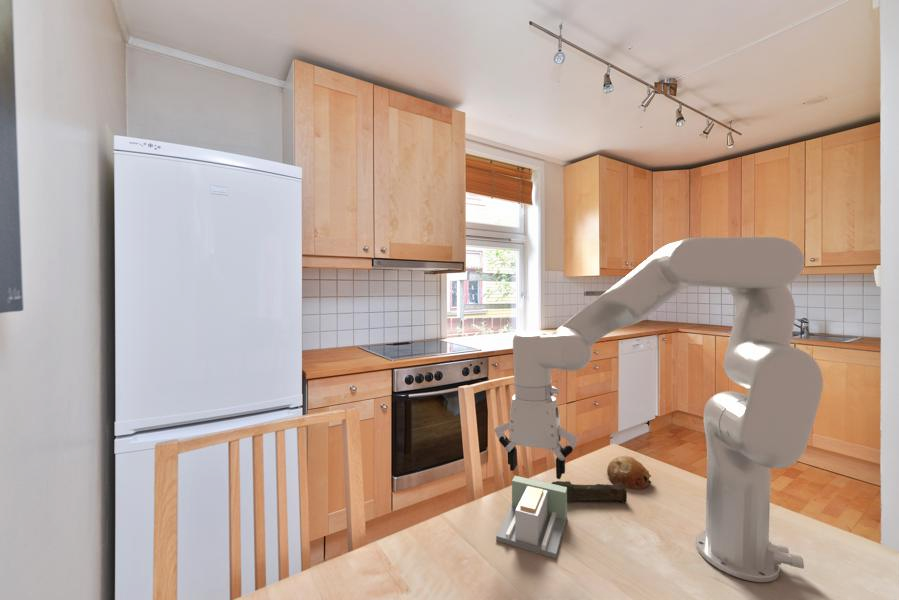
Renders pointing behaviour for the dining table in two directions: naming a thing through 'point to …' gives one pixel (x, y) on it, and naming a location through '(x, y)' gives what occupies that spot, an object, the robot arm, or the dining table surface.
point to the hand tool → (594, 492)
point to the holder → (531, 515)
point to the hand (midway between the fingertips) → (536, 471)
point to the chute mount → (553, 523)
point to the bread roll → (628, 472)
